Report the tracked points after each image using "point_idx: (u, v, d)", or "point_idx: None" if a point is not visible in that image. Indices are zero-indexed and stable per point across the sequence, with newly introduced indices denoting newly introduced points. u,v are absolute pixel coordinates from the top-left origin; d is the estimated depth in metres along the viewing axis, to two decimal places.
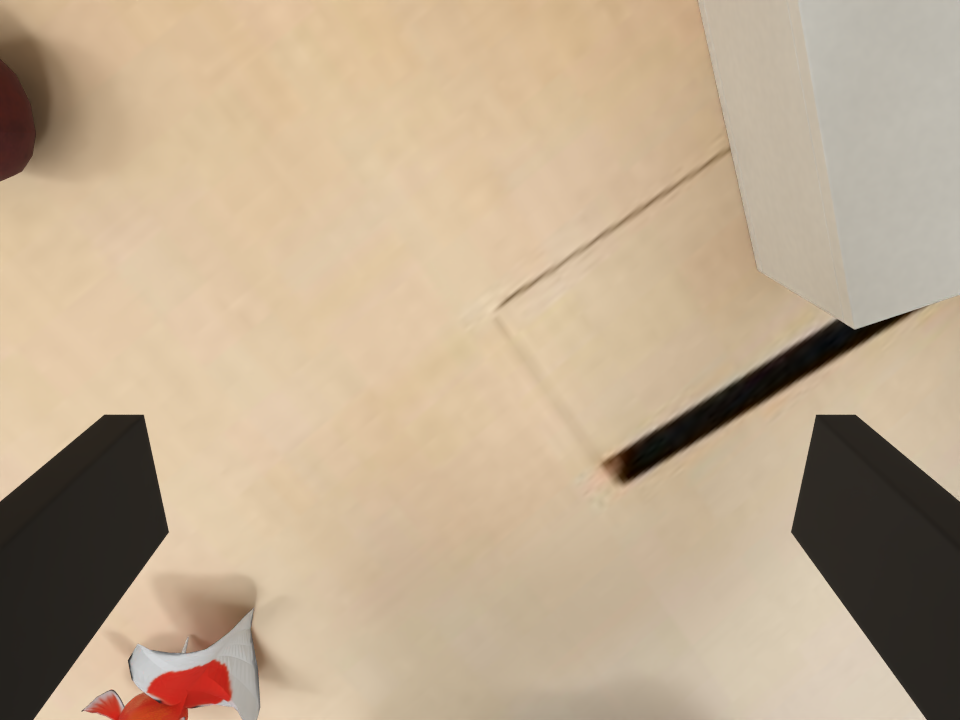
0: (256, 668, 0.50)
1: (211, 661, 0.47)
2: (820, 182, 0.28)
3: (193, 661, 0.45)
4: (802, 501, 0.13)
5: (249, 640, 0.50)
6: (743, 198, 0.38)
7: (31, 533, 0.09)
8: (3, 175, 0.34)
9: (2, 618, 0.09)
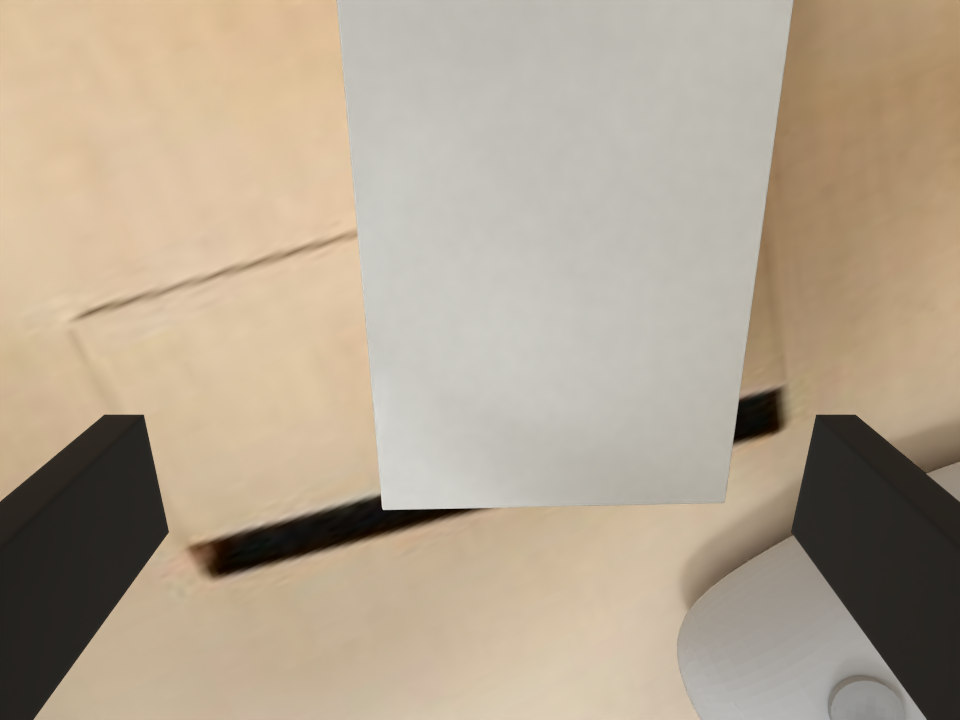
0: None
1: None
2: None
3: None
4: (802, 501, 0.13)
5: None
6: None
7: (31, 533, 0.09)
8: None
9: (2, 618, 0.09)
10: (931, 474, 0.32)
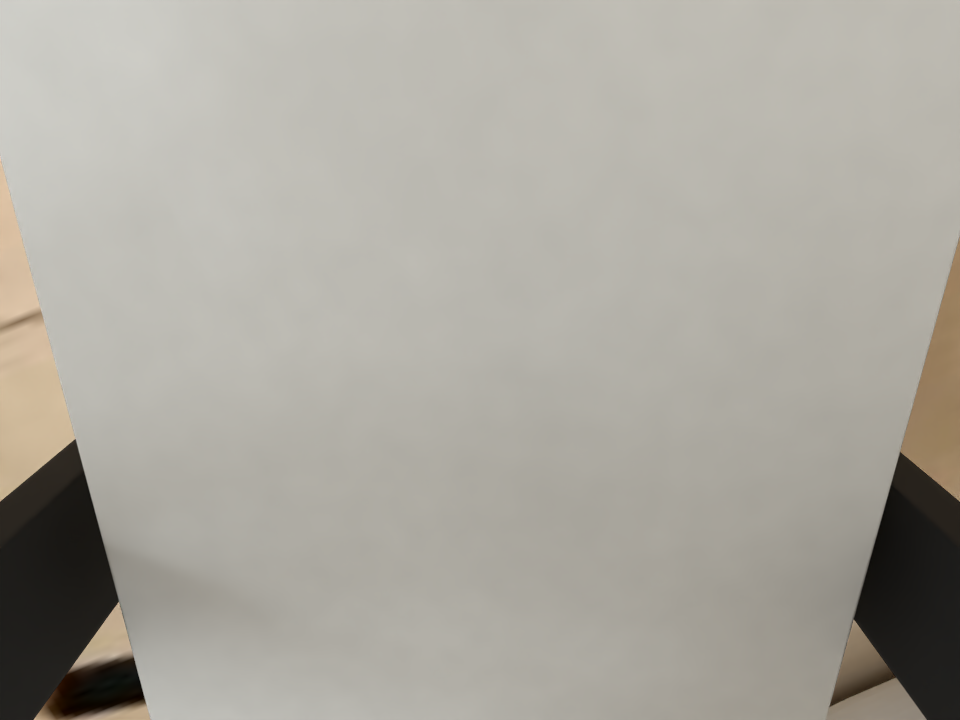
0: None
1: None
2: None
3: None
4: None
5: None
6: None
7: (31, 533, 0.09)
8: None
9: (2, 618, 0.09)
10: None
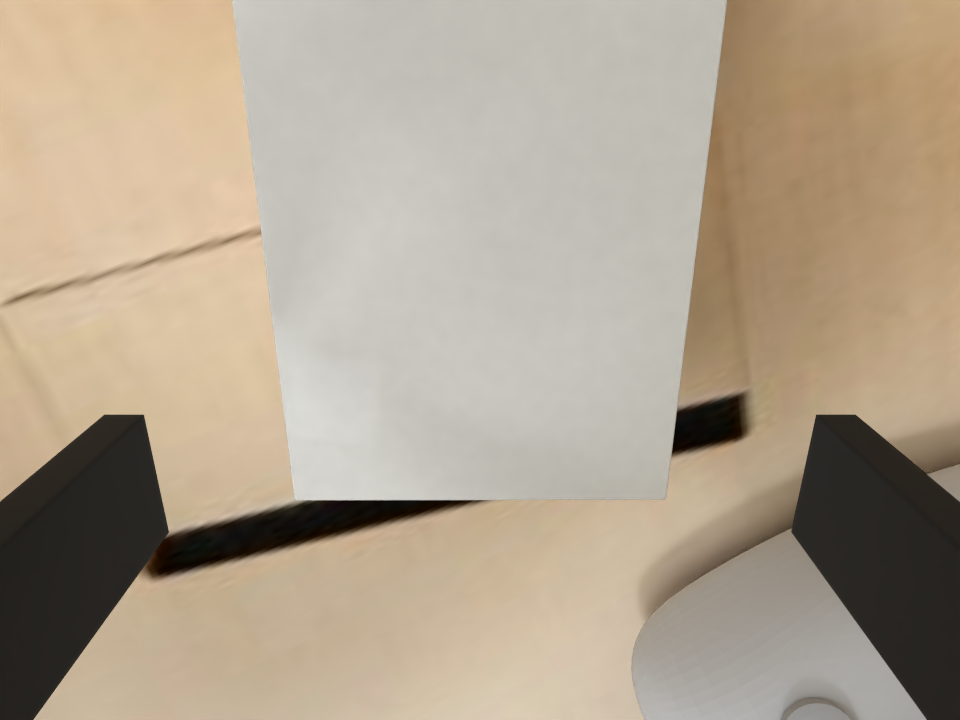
0: None
1: None
2: None
3: None
4: (802, 501, 0.13)
5: None
6: None
7: (31, 533, 0.09)
8: None
9: (2, 618, 0.09)
10: None
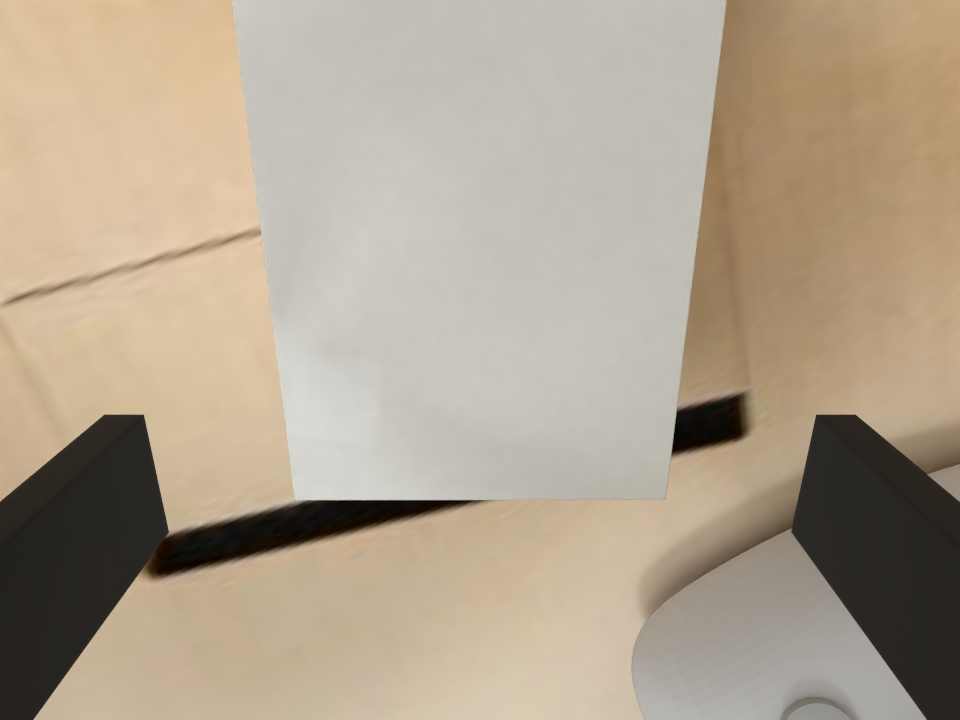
0: None
1: None
2: None
3: None
4: (802, 501, 0.13)
5: None
6: None
7: (31, 533, 0.09)
8: None
9: (2, 618, 0.09)
10: None
